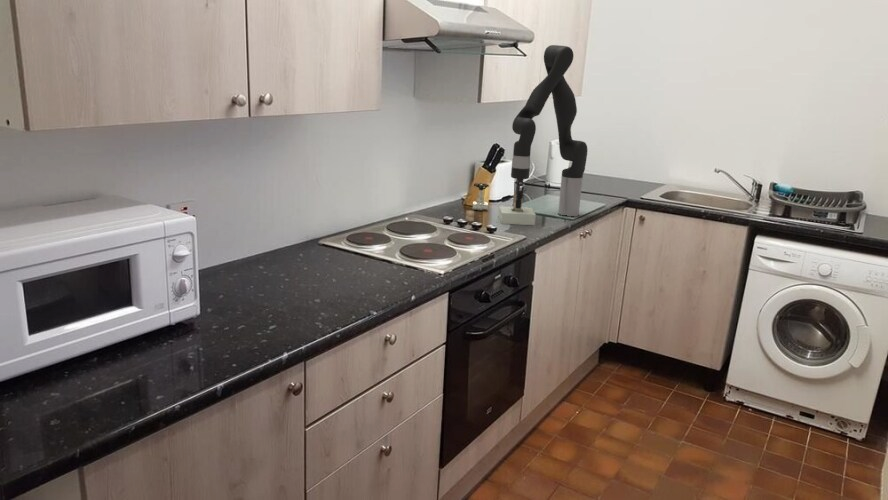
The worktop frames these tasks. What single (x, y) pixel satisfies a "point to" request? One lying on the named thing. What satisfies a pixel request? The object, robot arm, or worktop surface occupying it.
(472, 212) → the short pin
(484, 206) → the valve
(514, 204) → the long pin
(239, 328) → the worktop surface
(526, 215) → the pale green slotted block
